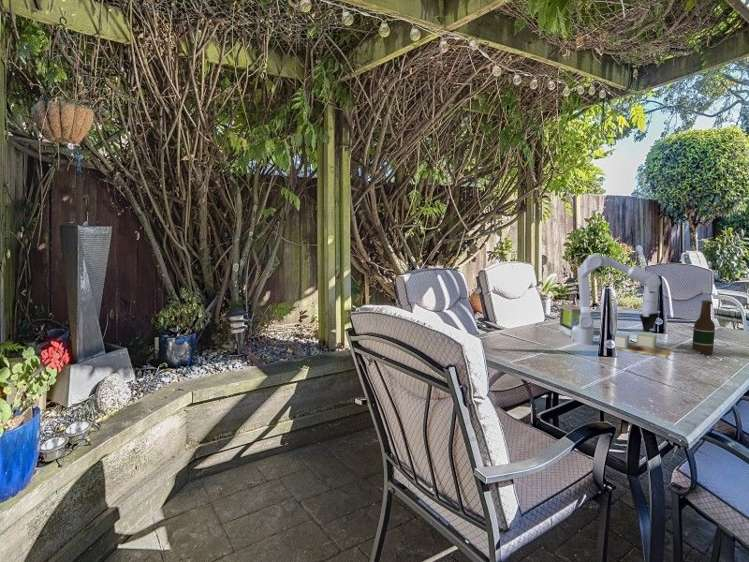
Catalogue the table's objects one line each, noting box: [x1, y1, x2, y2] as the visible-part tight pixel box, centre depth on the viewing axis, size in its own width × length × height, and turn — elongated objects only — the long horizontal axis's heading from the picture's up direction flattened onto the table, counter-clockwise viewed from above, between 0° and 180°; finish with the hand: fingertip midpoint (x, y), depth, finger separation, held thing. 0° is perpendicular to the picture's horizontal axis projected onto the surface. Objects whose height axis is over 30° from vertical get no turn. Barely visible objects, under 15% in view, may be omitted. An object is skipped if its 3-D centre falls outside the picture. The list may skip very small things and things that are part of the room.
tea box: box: [559, 304, 581, 337], centre depth 240 cm, size 15×10×15 cm
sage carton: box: [635, 331, 657, 349], centre depth 208 cm, size 7×5×6 cm, turn 48°
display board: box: [615, 342, 673, 359], centre depth 206 cm, size 24×18×3 cm
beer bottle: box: [691, 299, 716, 356], centre depth 203 cm, size 8×8×24 cm
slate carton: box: [615, 332, 631, 349], centre depth 207 cm, size 7×5×6 cm, turn 48°
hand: (648, 330), depth 206 cm, fingers open, 7 cm apart
